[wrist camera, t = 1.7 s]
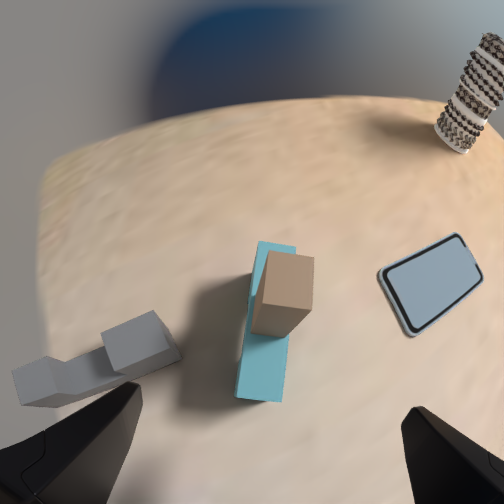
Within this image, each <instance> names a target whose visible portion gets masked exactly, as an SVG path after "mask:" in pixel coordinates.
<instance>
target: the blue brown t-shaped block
mask: <svg viewBox="0 0 504 504" xmlns="http://www.w3.org/2000/svg"><path fill="white" fill-rule="evenodd" d="M295 253H296V247H294V246H288V245H282V244H276V243H270V242H263V241H259V243H258V247H257V252H256V257H255V261H254V266H253V270H252V276H251V283H250V290H249V296H248V303H247V304H249V305H248V312H247V319H246V326H245V333H244V340H243V347H242V353H241V357H240V360H239V364H238V371H237V378H236V384H235V391H234V397H238V398H245V399H253V400H262V401H272V402H282V395H283V387H284V378H285V370H286V360H287V351H288V341H289V333H290V332H291V331H292V330H293V329H294V328H295V327H296V326H297V325H298V324H299V323H300V322H301V321H302V320H303V319H304V318H305V317H306V316H307V315H308V314H309V313H310V311H311V310H312V300H313V277H314V257H309V256H302V255H296V254H295Z"/></svg>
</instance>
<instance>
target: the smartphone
mask: <svg viewBox="0 0 504 504" xmlns="http://www.w3.org/2000/svg"><path fill="white" fill-rule="evenodd" d="M379 280H380V282H381V284H382V286H383V288H384V290H386V291H385V292H387V294H388V297H389V299H390V301H391V303H392V304H393V306H394V308H395V311H396V313H397V315H398V317H399V319H400V321H401V323H402V325H403V327H404V329H405V331H406V333H407V334H408V335H409V336H412V337H415V336H417V335H419V334H421V333H422V332H423V331H425V330H426V329H428V328H429V327H430V326H432V325H433V324H434V323H436V322H437V321H438V320H439V319H441V318H442V317H443V316H445V315H446V314H447V313H448V312H450V311H451V310H452V309H453V308H455V307H456V306H457V305H458V304H459V303H461V302H462V301H463V300H464V299H466V298H467V297H468V296H469V295H470V294H471V293H472V292H473V291H474V290H475V289H477V288H478V287H479V286H480V285H481V284H482V283H483V281H484V276H483V273H482V271H481V269H480V267H479V265H478V264H477V262H476V260H475V258H474V257H473V255H472V253H471V251H470V250H469V248H468V246H467V245H466V243H465V241H464V240H463V238H462V236H461V235H460V234H459V233H457V232H453V233H451V234H449V235H447V236H446V237H444V238H442V239H440V240H438V241H436V242H434V243H432V244H430V245H428V246H426V247H424V248H422V249H420V250H418V251H416V252H414V253H412V254H410V255H408V256H406V257H404V258H402V259H400V260H398V261H395V262H393V263H391V264H389V265H387V266H385V267H383V268H382V269H381V270H380V272H379Z"/></svg>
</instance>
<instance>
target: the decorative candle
mask: <svg viewBox="0 0 504 504" xmlns="http://www.w3.org/2000/svg"><path fill="white" fill-rule="evenodd" d="M470 55H471V57H472V59H473V60H467V64H468V66H466V67H464V72H465V73H466V74H465V75H461V77H460V79H459V82H460V85H459V87H458V89H457V91H456V93H454V94H453V96H452V98H451V99H450V100H448V105H446V106H445V111H444V112H442V113H441V114H440V118H438V119H437V124H435V125H434V129H435V131H436V133H437V134H438V135H439V137H440V138H441V139H442V140H443V141H444V142H445V143H446V144H447V145H448V146H450V147H451V148H452V149H454V150H455V151H457V152H459V153H461V154H466V153H467V152H468V149H471V147H472V143H473V144H474V143H475V141H476V136H477V137H478V136H479V135H480V132H479V130H480V131H483V129H484V127H483V126H484V125H485V123H486V122H487V118H488V116H489V115H490V113H491V111H492V110H496V106H499V102H498V101H497V100H503V97H502V95H501V93H502V92H503V91H504V40H503V39H502V38H500V37H499V36H497V35H496V34H494V33H492V32H489V33H486V34H484V35H483V37H482V39H481V42H480V44H479V46H477V48H476V50H474V52H473V51H472V52H470Z"/></svg>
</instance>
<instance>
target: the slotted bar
mask: <svg viewBox="0 0 504 504" xmlns="http://www.w3.org/2000/svg"><path fill="white" fill-rule="evenodd" d="M101 336H102V339H103V342H104V345H105V346H103V347H100V348H98V349H96V350H93V351H91V352H89V353H86V354H84V355H81V356H79V357H77V358H74V359H72V360H69V361H67V362H63V361H60V360H57V359H54V358H51V357H48V356H46V357H43V358H41V359H39V360H36V361H34V362H32V363H29V364H27V365H24V366H22V367H20V368H17V369H15V370H13V371H12V374H13V378H14V382H15V386H16V389H17V393H18V396H19V400H20V403H21V405H24V406H36V407H52V408H58V407H61V406H64V405H67V404H70V403H73V402H76V401H79V400H81V399H84V398H87V397H90V396H93V395H95V394H98V393H101V392H103V391H106V390H109V389H111V388H114V387H116V386H119V385H121V384H123V383H125V382H126V381H132V380H134V379H137V378H139V377H141V376H144V375H146V374H149V373H151V372H153V371H156V370H158V369H160V368H163V367H165V366H167V365H170V364H172V363H174V362H176V361H179V360H181V359H182V357H181V355H180V353H179V351H178V349H177V347H176V344H175V342H174V340H173V338H172V336H171V334H170V331H169V329H168V328H167V327H166V326H165V324H164V323H163V322H162V320H161V319H160V318H159V317H158V315H157V314H156V313H155V311H154V310H152V311H150V312H148V313H145V314H143V315H141V316H138V317H136V318H134V319H132V320H129V321H127V322H125V323H123V324H120V325H118V326H116V327H113V328H111V329H109V330H106V331H104V332H102V333H101Z"/></svg>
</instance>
